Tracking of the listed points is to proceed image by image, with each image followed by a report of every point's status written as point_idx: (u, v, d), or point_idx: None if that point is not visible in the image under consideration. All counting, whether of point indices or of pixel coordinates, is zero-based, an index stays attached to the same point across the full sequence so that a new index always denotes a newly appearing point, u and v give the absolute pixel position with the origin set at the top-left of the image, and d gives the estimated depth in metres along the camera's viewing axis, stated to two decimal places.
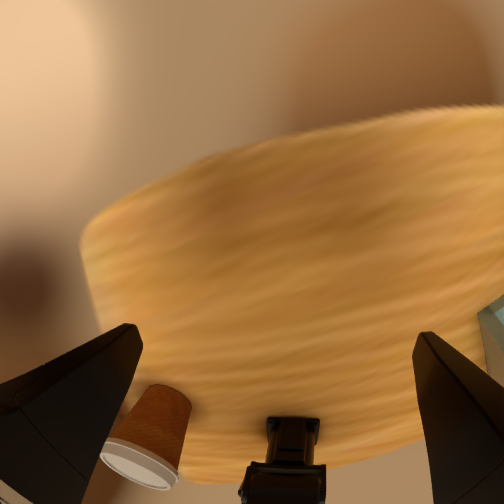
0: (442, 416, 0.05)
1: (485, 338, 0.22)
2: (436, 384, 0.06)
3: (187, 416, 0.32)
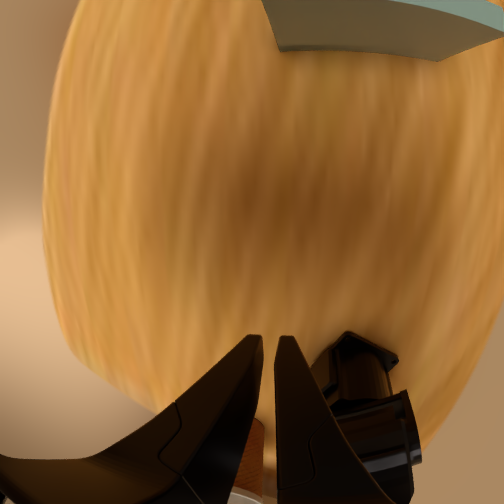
0: None
1: (326, 45, 0.14)
2: None
3: None
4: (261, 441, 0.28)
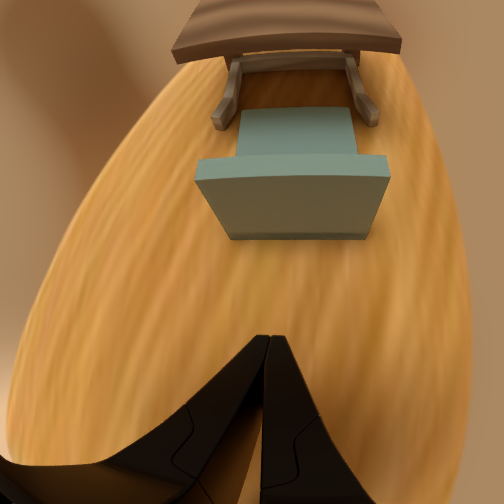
0: None
1: (263, 233, 0.23)
2: None
3: None
4: None
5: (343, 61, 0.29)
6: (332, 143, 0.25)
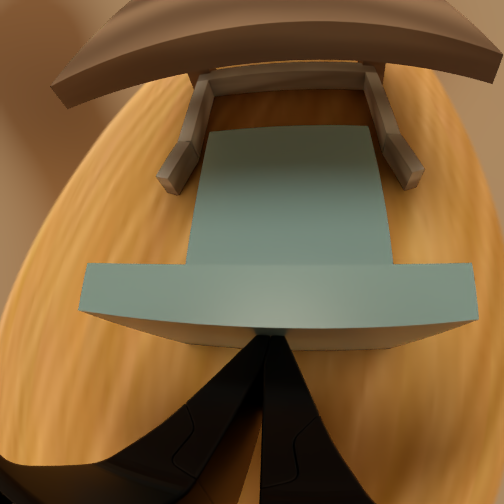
0: None
1: (231, 345, 0.14)
2: None
3: None
4: None
5: (361, 77, 0.20)
6: (345, 187, 0.16)
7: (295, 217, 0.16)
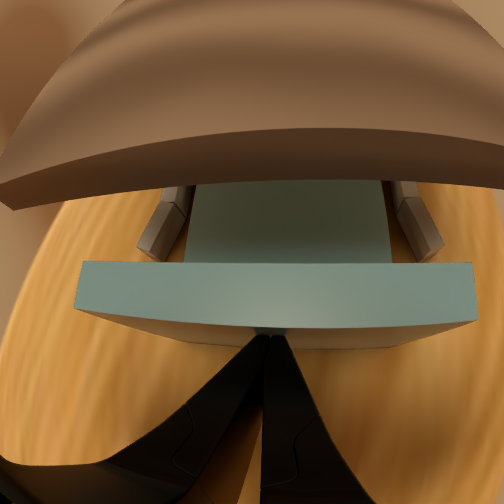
0: None
1: (229, 344, 0.14)
2: None
3: None
4: None
5: None
6: (344, 184, 0.16)
7: (294, 215, 0.16)
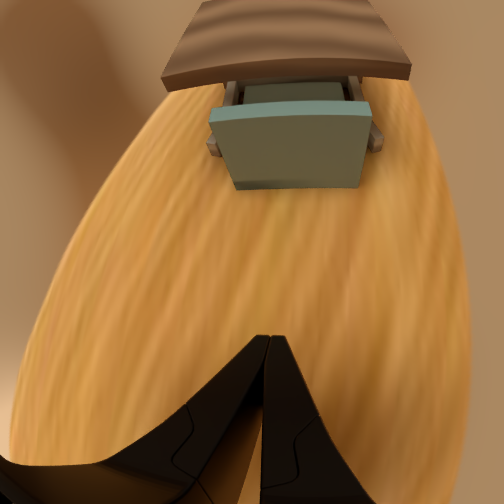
0: None
1: (266, 181, 0.25)
2: None
3: None
4: None
5: (345, 78, 0.29)
6: None
7: None
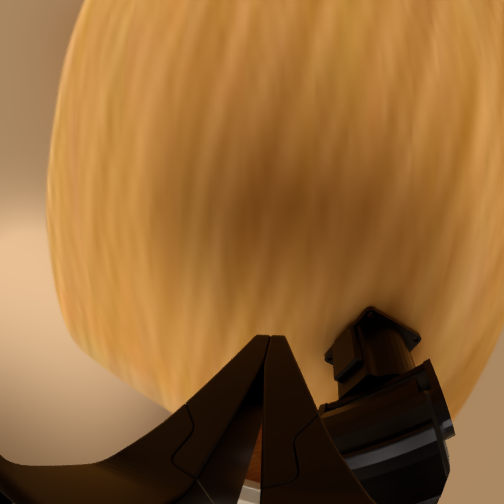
0: None
1: None
2: None
3: None
4: None
5: None
6: None
7: None
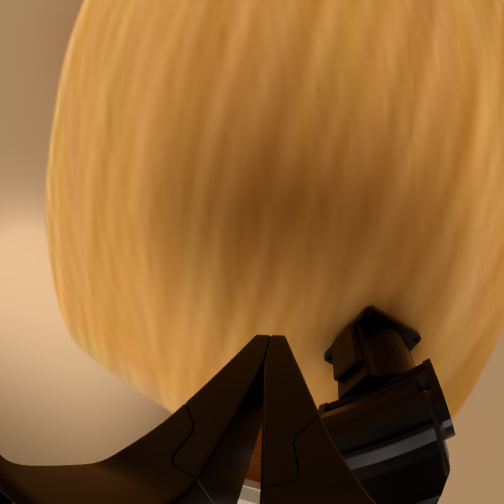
0: None
1: None
2: None
3: None
4: None
5: None
6: None
7: None
